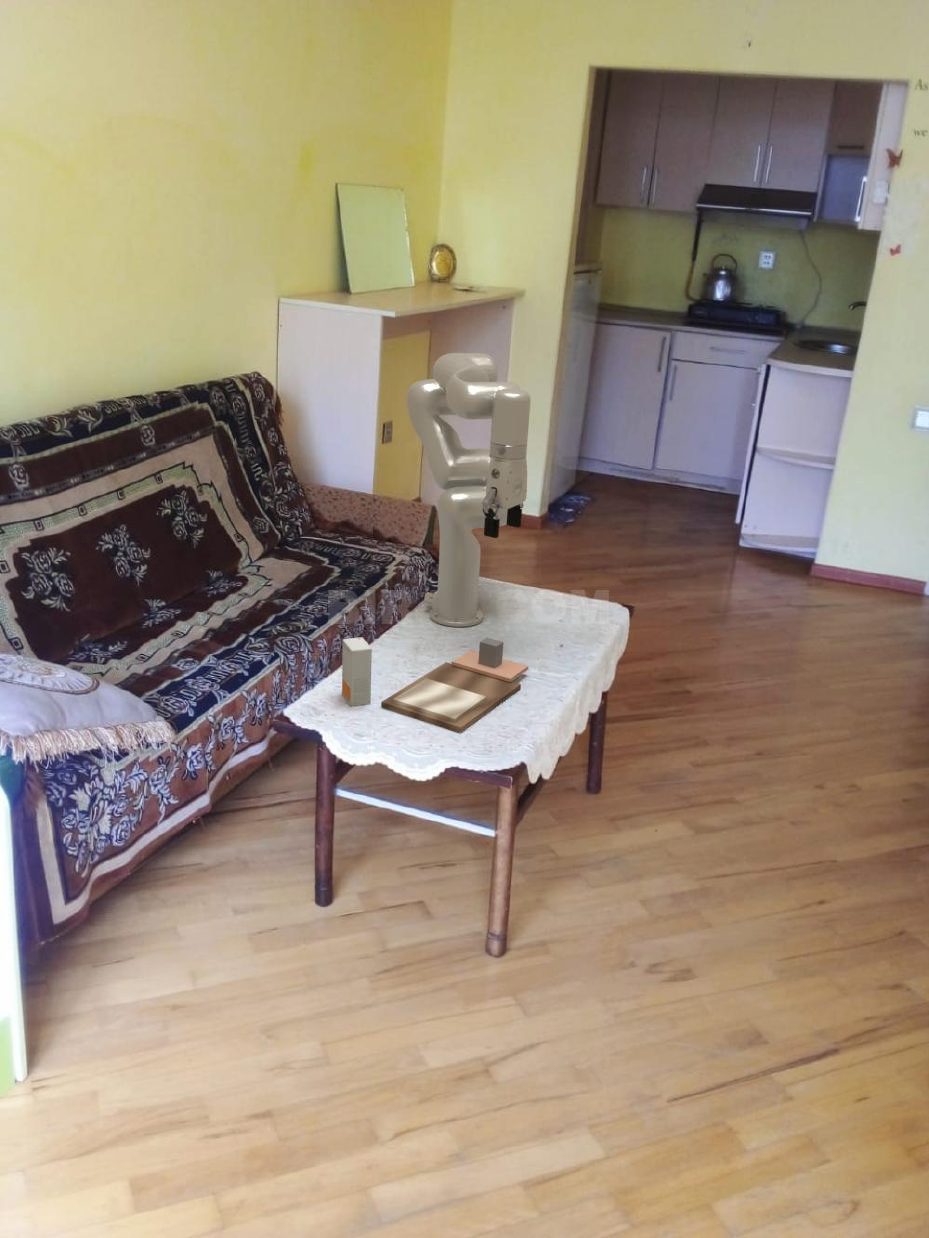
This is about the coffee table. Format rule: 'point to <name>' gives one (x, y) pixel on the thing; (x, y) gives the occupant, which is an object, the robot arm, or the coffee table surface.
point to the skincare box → (356, 671)
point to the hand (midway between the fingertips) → (502, 531)
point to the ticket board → (451, 697)
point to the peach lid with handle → (490, 661)
